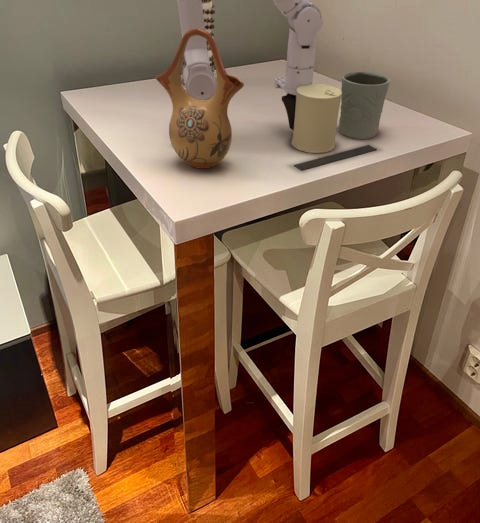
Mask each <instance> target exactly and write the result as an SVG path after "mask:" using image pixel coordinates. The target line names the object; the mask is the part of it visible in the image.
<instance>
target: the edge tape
mask: <svg viewBox="0 0 480 523" xmlns="http://www.w3.org/2000/svg"><path fill="white" fill-rule="evenodd" d="M377 150H378V148H376V147H374V146H371V145H370V144H367V145H363V146H360V147H356V148H352V149H348V150H344V151H341V152H337V153H334V154H330V155H326V156H325V155H324V156H321V157H318V158H314V159H311V160H307V161H304V162H300V163H296V164H293V167H295V168H296V169H298V170H299V171H306V170H309V169H312V168H317V167H320V166H325V165H327V164H331V163H335V162H338V161H342V160H345V159H349V158H353V157H357V156H360V155H363V154H367V153H371V152H374V151H377Z"/></svg>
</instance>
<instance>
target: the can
mask: <svg viewBox="0 0 480 523" xmlns="http://www.w3.org/2000/svg"><path fill="white" fill-rule="evenodd" d="M296 91H297V94H296V108H295V120H294V130H292V140H291V145H292V147H293V148H295V149H296V150H298V151H301V152H304V153H310V154H324V153H328V152H331V151H333V150H334V149H335V147H336V135H337V134H336V133H337V127H338V120H339V112H340V107H341V95H342V91H341V89H340V88H338V87H336V86H333V85H329V84H326V83H325V84H323V83H312V84H310V85H307V86H299V87H298V88H297V90H296Z"/></svg>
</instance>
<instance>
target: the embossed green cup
mask: <svg viewBox="0 0 480 523" xmlns="http://www.w3.org/2000/svg"><path fill="white" fill-rule="evenodd" d="M390 82H391V79H390V78H389V77H388V76H386V75H384V74H381V73H377V72H369V71H351V72H347V73H344V74H343V75H342V77H341V89H340V90H341V91H342V95H341V100H340V115H339V119H338V120H339V123H338V124H339V125H338V132H339V133H340V134H341V135H342V136H345V137H347V138H350V139H355V140H368V139H369V140H370V139H372V138H375V137H376V136H377V134H378V131H379V128H380V121H381V118H382V113H383V108H384V104H385V101H386V100H385V99H386V97H387V94H388V90H389V86H390Z"/></svg>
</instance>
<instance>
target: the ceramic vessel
mask: <svg viewBox="0 0 480 523" xmlns="http://www.w3.org/2000/svg"><path fill="white" fill-rule="evenodd" d="M196 35H198V36H202V37H204V38H205V39H206V40H207V42H208V44H209V46H210V49H211V52H212V55H213V58H214V59H213V62H214V67H215V74H216V81H217V89H216V92H215V94H214V95H213V96H212V97H211V98H210V99H208V100H200V99H195V98H193V97H191V96H190V95H188V94H187V93H186V91H185V87H183V83H182V69H183V61H184V59H183V56H184V52H185V48H186V45H187V42H188V40H189V39H190V37H192V36H196ZM154 78H155V80H156V81H157V82H158V83H159V84H160V85H161V86H162V87H163V88H164V90H165V91H166V93H167V94H168V96H169V98H170V102H171V104H172V113H171V117H170V119H169V125H168V135H169V139H170V140H169V141H170V144H171V147H172V148H173V150H174V152H175V153H176V155H177V156H178V158H180V159H181V160H182V162H184V163H185V164H187V166H189V167H192V168H196V169H211V168H213V167H215V166H216V165H218V164H219V163H221V162H222V161H223V160H224V158H225V157H226V156H227V155H228V153H229V151H230V149H231V145H232V140H233V130H232V124H231V121H230V119H229V115H228V109H229V108H228V107H229V104H230V101H231V100H232V99H233V97H234V96H235V95H236V94H237V93H238V92H239V91H240V90H242V89H243V88H244V86H245V84H244V82H243V81H242V80H241V79H240V78H238V77H236V76H233V75H230V74H228V73H227V70H226V69H225V67H224V64H223V62H222V59H221V56H220V52H219V49H218V46H217V44H216V41H215V39H214V36H213V37H212V36H211V35H210V34H209V33H208V32H206V31H205V30H202V29H199V28H196V29H191V30H189V31H187V32H186V33H185V34H184V36H183V38H182V37H181V40H180V43H179V46H178V48H177V51H176V53H175V56H174V58H173V60H172V61H171V63H170V65H169V67H168V68H167V69H166V71H164V72H161V73H160V74H158V75H156V76H155V77H154Z"/></svg>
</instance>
